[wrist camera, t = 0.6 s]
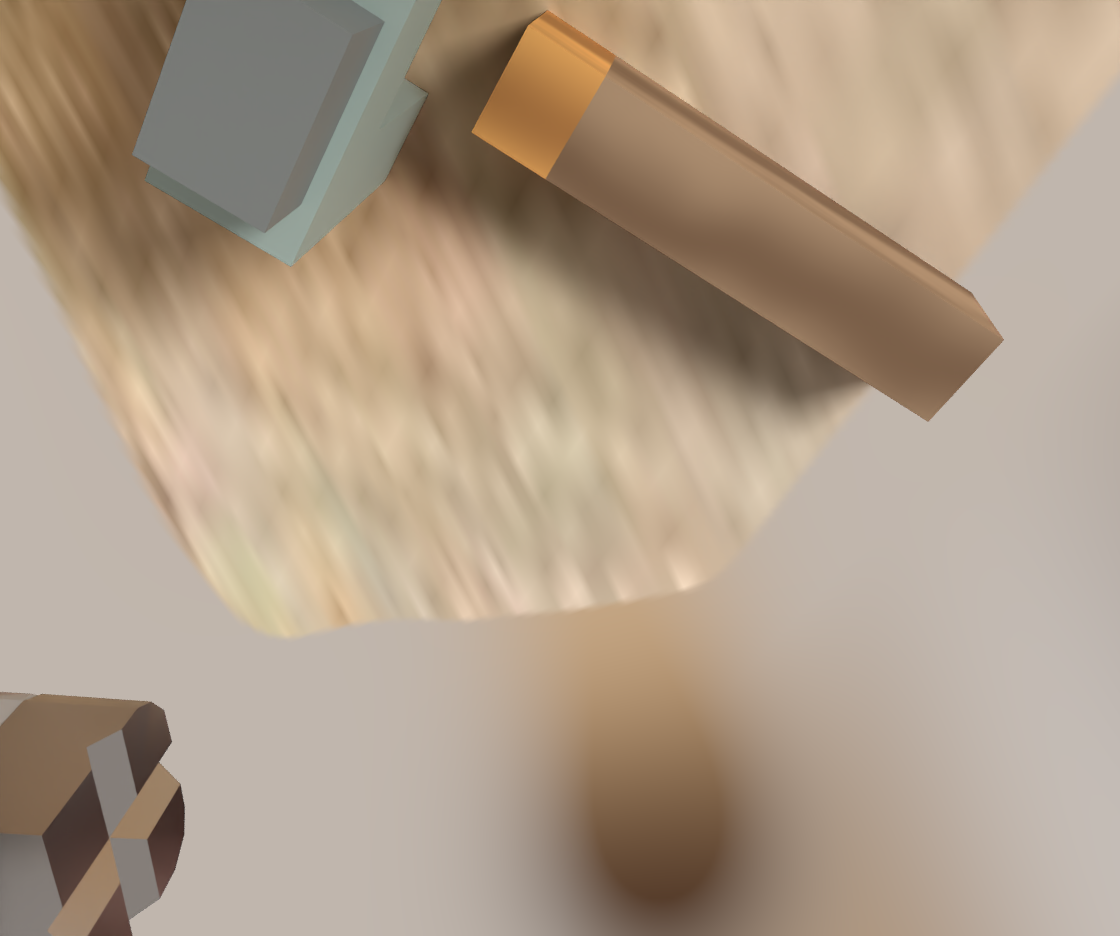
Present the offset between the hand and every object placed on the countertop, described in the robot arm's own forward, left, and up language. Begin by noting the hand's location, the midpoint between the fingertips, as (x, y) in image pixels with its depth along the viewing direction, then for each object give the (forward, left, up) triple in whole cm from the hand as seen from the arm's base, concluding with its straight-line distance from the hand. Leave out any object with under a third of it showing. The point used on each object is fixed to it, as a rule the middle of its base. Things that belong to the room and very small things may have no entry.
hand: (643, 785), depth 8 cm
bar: (+2, +4, -35) cm, 35 cm away
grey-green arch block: (+2, -11, -34) cm, 36 cm away
